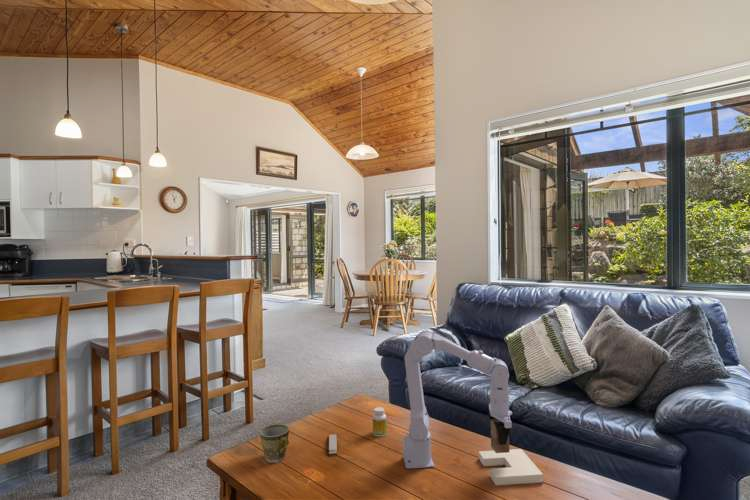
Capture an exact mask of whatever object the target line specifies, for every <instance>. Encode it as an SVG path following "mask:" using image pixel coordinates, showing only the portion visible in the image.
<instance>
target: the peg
mask: <svg viewBox="0 0 750 500" xmlns="http://www.w3.org/2000/svg"><path fill="white" fill-rule="evenodd" d="M494 422H500V420H498V419H491V423H490V447H491V448H492V451H495V452H496V453H507V452H509V450H510V435H509V436H508V440H507V444H506V445H500V444H499V440H498V433H497V429H496V427H495V424H494Z"/></svg>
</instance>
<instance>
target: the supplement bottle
mask: <svg viewBox="0 0 750 500" xmlns="http://www.w3.org/2000/svg"><path fill="white" fill-rule="evenodd" d="M373 412H374V414H373V415H372V435H373V436H374V437H377V438H378V437H379V438H380V437H385V436H386V435H387V433H388V431H387V414H385V408H384V407H380V406H379V407H374V411H373Z"/></svg>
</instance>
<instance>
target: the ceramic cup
mask: <svg viewBox="0 0 750 500" xmlns="http://www.w3.org/2000/svg"><path fill="white" fill-rule="evenodd" d="M289 434H290V427H289V425H287V424H284V423H273V424H268V425H265V426H264V427H262V428H261V429H260V431H259V436H260V441H261V445H262V449H263V450H262V451H263V455H264V460H265V461H266V462H267V463H269V464H271V463H272V464H273V463H274V464H275V463H277V462H278V463H280V462H282V461H284V460H285V457H286V453H287V452H286V451H287V447H288V446H289V444H290V442H289Z"/></svg>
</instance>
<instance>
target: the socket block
mask: <svg viewBox="0 0 750 500" xmlns="http://www.w3.org/2000/svg"><path fill="white" fill-rule="evenodd" d="M478 459H479V461H480V462H481V464H482V466H483V467H491V466H505V467H498V468H490V469H489V477H490V478H491V480H492V481H493V483H494V485H495V486H509V485H522V484H523V485H524V484H537V483H544V473H543V472H542V471H541V470H540V469H539V468H538V467H537V465H536V464H535V463H534V461H532V459H531V458H530V457H529V456H528V455H527V454H526V453H525V451H524V450H523V449H522V448H517V449H516V448H515V449H513V448H512V449H509V452H507V453H496V452H495V451H494V450H480V451H478Z"/></svg>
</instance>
